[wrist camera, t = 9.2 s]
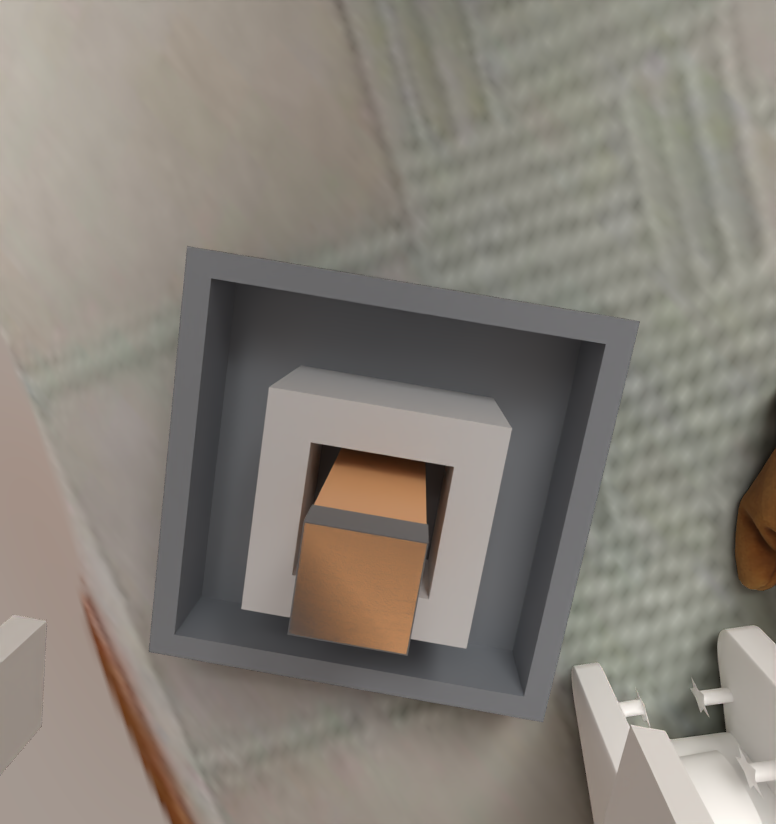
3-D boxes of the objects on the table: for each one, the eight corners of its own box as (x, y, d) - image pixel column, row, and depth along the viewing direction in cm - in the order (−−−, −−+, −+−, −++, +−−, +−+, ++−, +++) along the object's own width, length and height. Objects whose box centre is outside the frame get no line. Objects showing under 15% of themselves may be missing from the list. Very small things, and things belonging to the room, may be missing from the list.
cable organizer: (559, 633, 36) (621, 793, 25) (750, 603, 35) (907, 756, 24) (595, 854, 39) (666, 1089, 28) (774, 832, 38) (924, 1067, 27)
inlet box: (222, 251, 33) (159, 241, 25) (607, 315, 33) (665, 325, 25) (185, 603, 37) (121, 689, 29) (526, 663, 37) (555, 767, 29)
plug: (341, 444, 30) (303, 521, 21) (426, 459, 30) (428, 542, 21) (329, 524, 31) (287, 634, 21) (412, 539, 31) (407, 655, 21)
